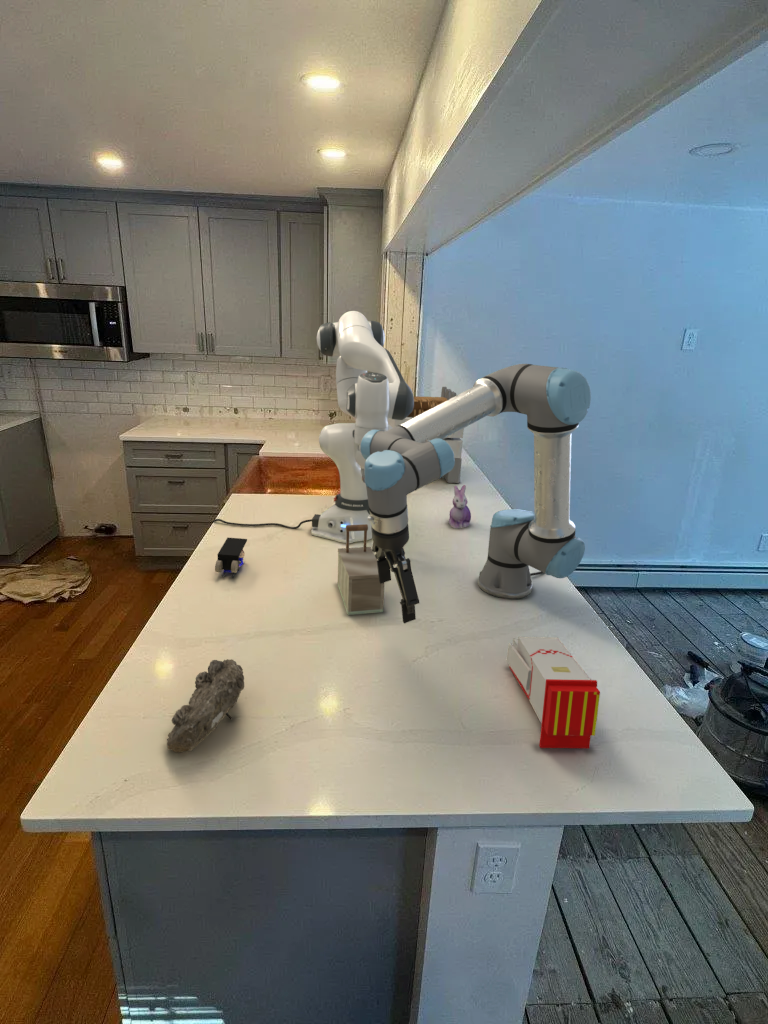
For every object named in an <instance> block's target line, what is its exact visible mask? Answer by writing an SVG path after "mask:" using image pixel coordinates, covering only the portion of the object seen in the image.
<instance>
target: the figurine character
mask: <svg viewBox="0 0 768 1024" xmlns="http://www.w3.org/2000/svg"><path fill="white" fill-rule="evenodd" d="M247 542H248V538H240V537H226V539H225V541H224V543H223V544H222V546H221V547H220V549H219V551H218V552H217V560H216V562H215V564H214V572H215V573H221V577H222V578H224V577H225V576H226V574H227V573H230V574H231V573H232V574H231V578H234V577H235V575H236V573H237V572H239V571H240V567H242V566H243V565H244V564H245V562H244V558H245V551H244V547H245V546H246V544H247Z"/></svg>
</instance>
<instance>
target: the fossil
mask: <svg viewBox="0 0 768 1024" xmlns="http://www.w3.org/2000/svg"><path fill="white" fill-rule="evenodd" d="M243 670H244V669H243V667H242V665H240V664H237V662H236V661H235V660H234V659H232V658H231V659H227V658H226V659H224V660H223V661H222V660H217V659H212V660H211V661H210V663H209V665H208V666H207V671H201V672H199V673H198V674H197V675H196V676H195V680H194V684H195V685H194V687H195V689H194V690H193V693H192V694H191V697H190V698H189V700H188V704H184V705H182V706H181V707H180V709H177V710H176V711H175V713H174V715H173V716H172V718H171V723H172V724H173V727H172V730H171V731H170V732H168V734H167V738H166V741H167V742H166V745H167V749H168V750H169V751H173V752H174V753H176V754H178V753H182V752H188V751H189V752H192V751H193V750H195V748H196V747H197V746H199V744H200V743H201V742H203V741H204V740H205V739H206V738H207V737H208V736H209V735H210V734H211V733H212V732H214V730H215V729H217V727H218V726H219V724H220V722H221V721H222V720H223V719H224V718H225V716H226V717H227V719H229V720H233V717H232V715H230V714H229V710H230V709H231V708H234V706H235V704H236V703H237V702H238V699H239V697H240V695H241V693H242V691H243V690H245V689H244V688H245V675H244V671H243Z"/></svg>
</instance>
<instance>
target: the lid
mask: <svg viewBox="0 0 768 1024" xmlns="http://www.w3.org/2000/svg"><path fill="white" fill-rule="evenodd" d="M349 531H364V541H363V546H360V547H359V546H358V547H350V543H349ZM367 531H368V525H367V524H363V525H346V543H345V547H342V548H340V547H339V548H337V554H338V553H339V556H340V558H341V561H342V563H343V566H344V569H345V571H346V574H347V576H348V579H349V580H352V579H367V578H379V575H378V566H377V560H378V559H376V557H375V552H373V551H372V546H367V543H368V540H367Z"/></svg>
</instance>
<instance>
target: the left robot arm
mask: <svg viewBox="0 0 768 1024" xmlns="http://www.w3.org/2000/svg"><path fill="white" fill-rule="evenodd" d="M385 341H386V335H385V331H384V328H383V325H382V324H381V322H379V321H377V320H369V319H367V317H366V316H365V315H364V314H363V313H362V312H360V311H357V310H350V311H347V312H345V313H343V314H342V315H341V316H340V318H339V319H338V321H335V322H331V321H328V322H324V323H322V324H321V325H320V326H319V327H318V331H317V333H316V345H317V347H318V349H319V352H320V353H321V354H322V355H323V356H325V357H334V356H335V357H337V360H336V366H335V367H336V368H335V385H336V396H337V397H336V398H337V405H338V408H339V409H340V411H341V412H342V413H344V414H345V415H346V416H349V417H351V418H352V419H354V421H355V422H338V423H332V424H328V425H325V426H324V427H322V429H321V431H320V432H319V435H318V444H319V447H320V449H321V451H322V452H323V454H325V455H326V456H327V457H328V458H330V459H331V460H332V462H333V463H334V464H335V466H336V467H337V470H338V474H339V483H340V484H339V485H340V488H339V489H340V490H339V491H338V492H337V494H336V495H335V496H334V497H333V502H334V504H333V505H331V506H329V507H328V508H326V509H325V510H323V512H321V514H318V513H315V514H314V515H313V517H312V518H311V519H305V520H302V521H301V522H299V523H298V525H296V526H288V525H285V524H282V523H276V522H265V523H239V522H238V523H237V522H230V521H226V520H224V519H220V518H215V519H214V520H212V521H211V523H215V522H221V523H224V524H226V525H231V526H240V527H263V526H279V527H281V528H282V527H283V528H285V529H286V528H287V529H291V530H297V529H299V528H300V527H301V525H303V524H305V523H311V527H312V528H311V530H310V533H311V536H315V537H319V538H323V539H326V540H330V541H336V542H339V543H343V544H346V525H363V524H367V525H368V531H367V541H368V540H373V539H372V530H371V521H369V520H368V517H369V516H370V511H369V504H368V497H367V489H366V484H365V461H366V460H365V459H364V457H363V456H362V453H361V448H360V446H361V441H362V439H363V437H364V436H365V434H366V433H367V432H369V431H371V430H384V431H387V430H389V429H392V427H391V426H390V425H389V424H388V419H394V420H403V419H405V418H406V417H407V416H408V415H409V414H410V413H411V412H412V411H413V408H414V396H415V395H414V392H413V389H412V388H411V387H410V386H409V384H408V383H407V382H406V381H405V379H404V376H403V374H402V373H401V371H400V369H399V366H398V365H397V363H396V361H395V359H394V357H393V356H392V353H391V352H390V351H389V350H388V349H387V348H385V347H384V345H385ZM357 542H364V531H349V544H352V543H357Z"/></svg>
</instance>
